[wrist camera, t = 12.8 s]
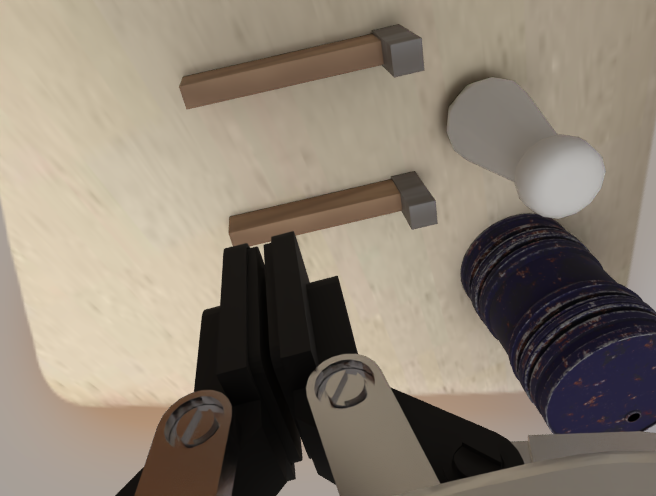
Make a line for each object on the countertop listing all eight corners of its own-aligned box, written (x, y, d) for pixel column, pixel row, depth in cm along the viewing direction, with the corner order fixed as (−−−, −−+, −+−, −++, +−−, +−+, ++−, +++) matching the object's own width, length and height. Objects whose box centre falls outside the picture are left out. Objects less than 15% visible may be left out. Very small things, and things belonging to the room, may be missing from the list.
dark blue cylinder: (439, 256, 43) (519, 390, 31) (545, 189, 41) (678, 303, 29) (488, 327, 48) (575, 467, 36) (585, 270, 46) (714, 397, 34)
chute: (182, 73, 33) (173, 94, 29) (399, 24, 34) (421, 38, 29) (235, 234, 40) (234, 271, 36) (417, 192, 40) (437, 223, 36)
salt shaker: (528, 77, 37) (650, 141, 26) (499, 154, 39) (598, 242, 28) (450, 63, 35) (543, 124, 24) (426, 144, 38) (500, 231, 27)
